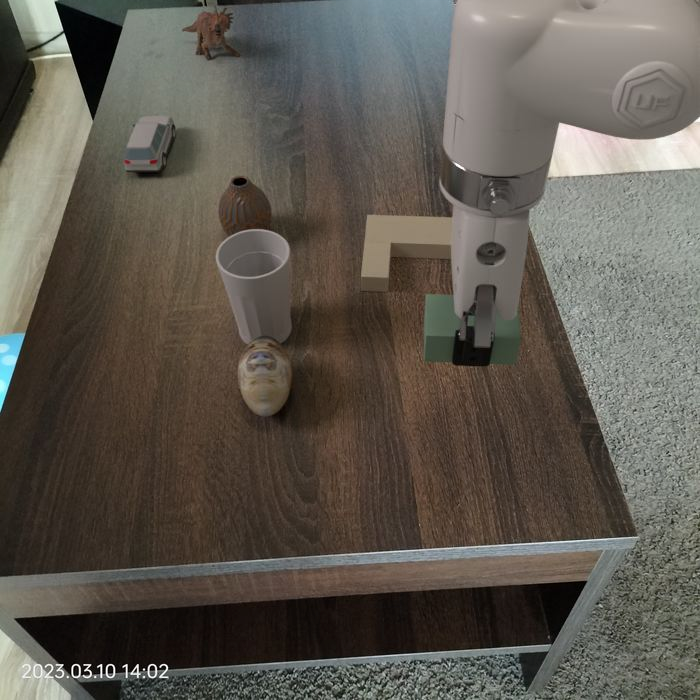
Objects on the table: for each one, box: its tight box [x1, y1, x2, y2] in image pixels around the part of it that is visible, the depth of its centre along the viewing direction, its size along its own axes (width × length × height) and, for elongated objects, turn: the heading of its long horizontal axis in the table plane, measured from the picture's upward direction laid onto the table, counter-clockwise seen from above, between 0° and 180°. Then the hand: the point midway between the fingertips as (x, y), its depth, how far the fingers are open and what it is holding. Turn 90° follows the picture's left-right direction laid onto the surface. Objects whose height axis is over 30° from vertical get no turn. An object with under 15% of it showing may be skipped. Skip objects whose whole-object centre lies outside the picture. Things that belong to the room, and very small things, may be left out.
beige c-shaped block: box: [360, 214, 452, 293], centre depth 93 cm, size 16×12×2 cm
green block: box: [423, 293, 522, 366], centre depth 64 cm, size 8×5×4 cm, turn 86°
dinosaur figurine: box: [181, 5, 241, 61], centre depth 129 cm, size 14×6×9 cm, turn 42°
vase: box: [218, 175, 273, 237], centre depth 95 cm, size 7×7×9 cm
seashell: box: [237, 335, 293, 418], centre depth 77 cm, size 10×6×8 cm, turn 4°
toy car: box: [123, 114, 176, 173], centre depth 110 cm, size 6×13×5 cm, turn 178°
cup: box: [215, 229, 293, 345], centre depth 83 cm, size 8×8×12 cm
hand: (469, 337), depth 65 cm, fingers closed on green block, 5 cm apart
